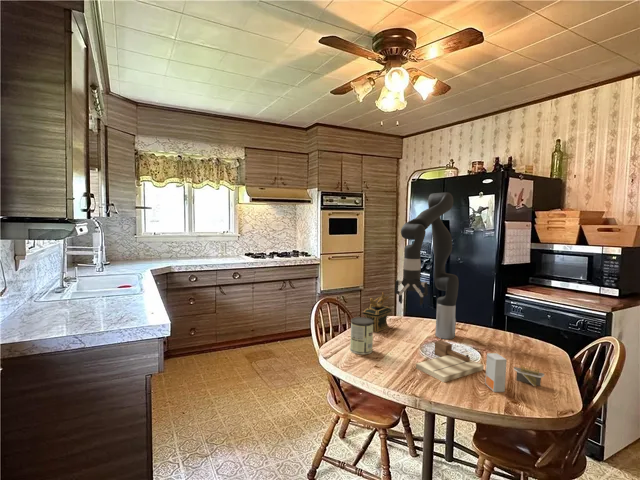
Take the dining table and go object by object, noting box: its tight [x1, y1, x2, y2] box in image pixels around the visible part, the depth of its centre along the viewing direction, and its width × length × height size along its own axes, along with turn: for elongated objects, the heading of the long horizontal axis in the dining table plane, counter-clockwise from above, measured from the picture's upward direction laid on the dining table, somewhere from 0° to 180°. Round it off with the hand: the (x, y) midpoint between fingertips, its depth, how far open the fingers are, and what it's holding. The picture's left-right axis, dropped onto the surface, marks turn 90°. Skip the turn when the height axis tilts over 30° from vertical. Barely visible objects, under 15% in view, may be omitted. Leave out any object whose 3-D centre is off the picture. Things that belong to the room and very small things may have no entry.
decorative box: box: [362, 291, 393, 333], centre depth 197 cm, size 20×10×20 cm, turn 141°
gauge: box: [433, 339, 471, 362], centre depth 155 cm, size 4×17×6 cm, turn 31°
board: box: [415, 355, 485, 383], centre depth 145 cm, size 24×14×2 cm, turn 121°
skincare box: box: [484, 352, 507, 393], centre depth 129 cm, size 6×4×12 cm
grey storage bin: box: [513, 365, 545, 387], centre depth 134 cm, size 12×18×7 cm, turn 56°
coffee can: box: [349, 316, 374, 355], centre depth 162 cm, size 10×10×14 cm
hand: (410, 304), depth 160 cm, fingers open, 8 cm apart
